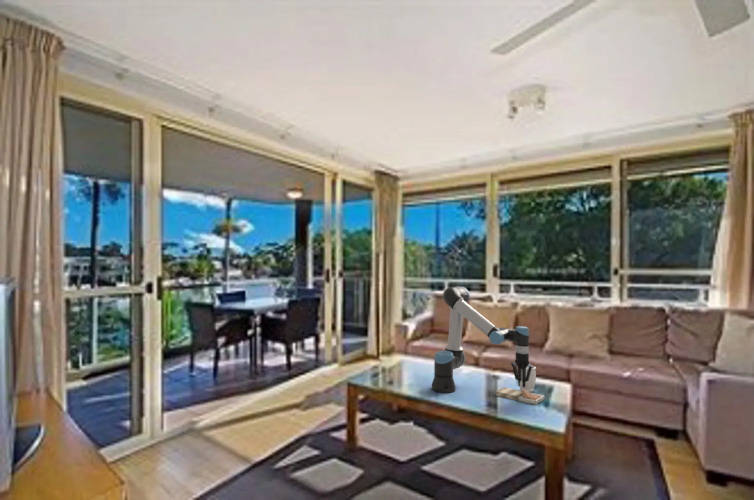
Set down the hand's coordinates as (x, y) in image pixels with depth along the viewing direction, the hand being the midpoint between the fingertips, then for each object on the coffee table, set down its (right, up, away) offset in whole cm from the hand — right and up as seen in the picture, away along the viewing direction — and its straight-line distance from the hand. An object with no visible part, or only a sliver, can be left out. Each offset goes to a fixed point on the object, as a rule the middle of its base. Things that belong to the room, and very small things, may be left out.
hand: (521, 392), depth 264 cm
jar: (+9, -4, +16) cm, 19 cm away
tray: (+4, -3, -4) cm, 7 cm away
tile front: (+6, -1, -5) cm, 8 cm away
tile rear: (+2, -1, -2) cm, 3 cm away
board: (-5, -3, +4) cm, 8 cm away
